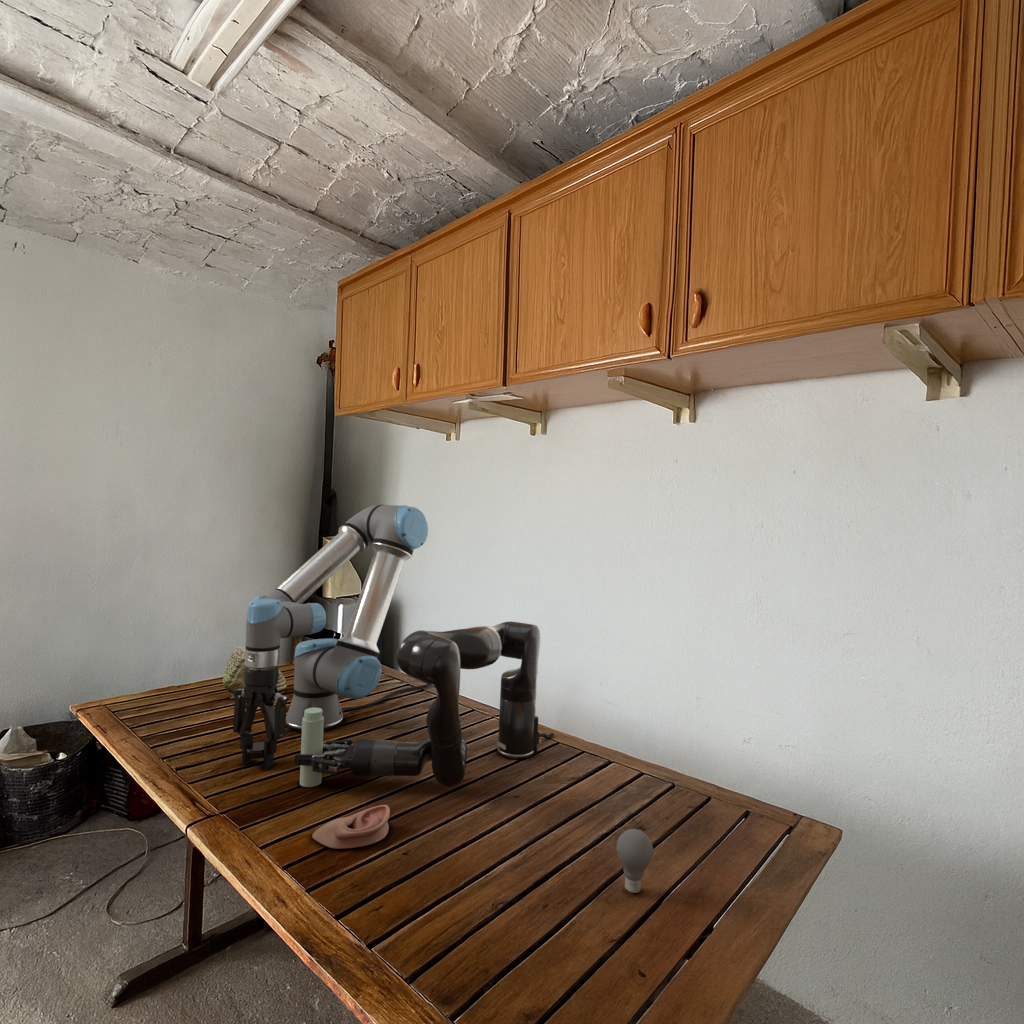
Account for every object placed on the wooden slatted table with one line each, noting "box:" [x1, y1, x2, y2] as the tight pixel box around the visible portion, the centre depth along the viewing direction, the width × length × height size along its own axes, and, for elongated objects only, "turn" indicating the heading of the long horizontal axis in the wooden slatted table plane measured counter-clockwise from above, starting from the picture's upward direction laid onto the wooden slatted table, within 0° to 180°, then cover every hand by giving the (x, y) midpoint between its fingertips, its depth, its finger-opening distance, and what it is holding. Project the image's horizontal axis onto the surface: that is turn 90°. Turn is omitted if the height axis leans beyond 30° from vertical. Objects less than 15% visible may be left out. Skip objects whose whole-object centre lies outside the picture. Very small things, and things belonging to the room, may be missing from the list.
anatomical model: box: [311, 804, 391, 850], centre depth 119 cm, size 13×4×12 cm
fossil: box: [222, 646, 288, 699], centre depth 198 cm, size 9×18×15 cm, turn 132°
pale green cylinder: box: [299, 708, 324, 788], centre depth 140 cm, size 5×5×16 cm
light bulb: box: [615, 828, 654, 894], centre depth 106 cm, size 6×6×10 cm
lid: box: [245, 741, 264, 760], centre depth 148 cm, size 5×5×2 cm
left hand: (257, 765), depth 148 cm, fingers closed on lid, 5 cm apart
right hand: (299, 754), depth 140 cm, fingers closed on pale green cylinder, 4 cm apart
